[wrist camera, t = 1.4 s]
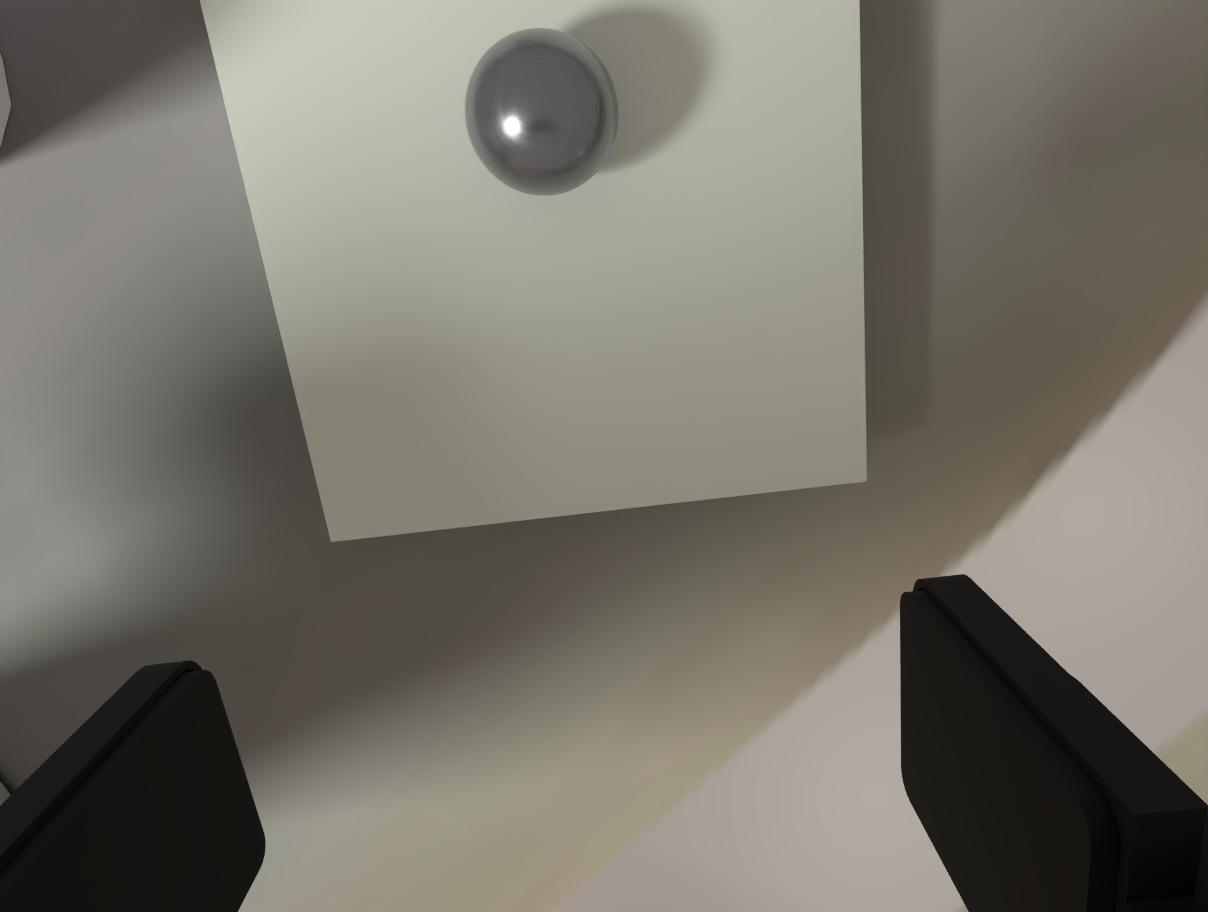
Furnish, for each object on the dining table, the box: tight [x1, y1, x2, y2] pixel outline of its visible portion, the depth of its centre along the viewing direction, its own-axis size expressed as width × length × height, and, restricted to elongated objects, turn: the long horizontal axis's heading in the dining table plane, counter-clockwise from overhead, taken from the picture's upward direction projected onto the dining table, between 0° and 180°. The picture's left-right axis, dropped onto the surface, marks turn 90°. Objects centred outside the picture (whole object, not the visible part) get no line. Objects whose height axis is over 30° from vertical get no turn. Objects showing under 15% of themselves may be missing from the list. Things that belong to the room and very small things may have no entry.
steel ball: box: [465, 28, 619, 196], centre depth 20 cm, size 4×4×4 cm
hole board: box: [200, 0, 867, 542], centre depth 22 cm, size 30×18×3 cm, turn 7°
